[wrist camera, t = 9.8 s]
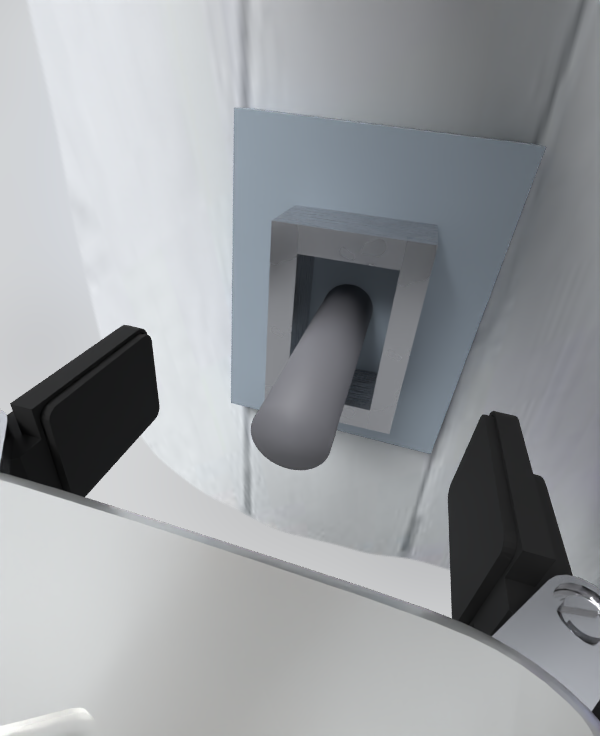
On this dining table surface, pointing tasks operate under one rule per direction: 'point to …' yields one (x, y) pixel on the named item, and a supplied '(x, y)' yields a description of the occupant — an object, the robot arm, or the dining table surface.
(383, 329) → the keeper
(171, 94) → the dining table surface
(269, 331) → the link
